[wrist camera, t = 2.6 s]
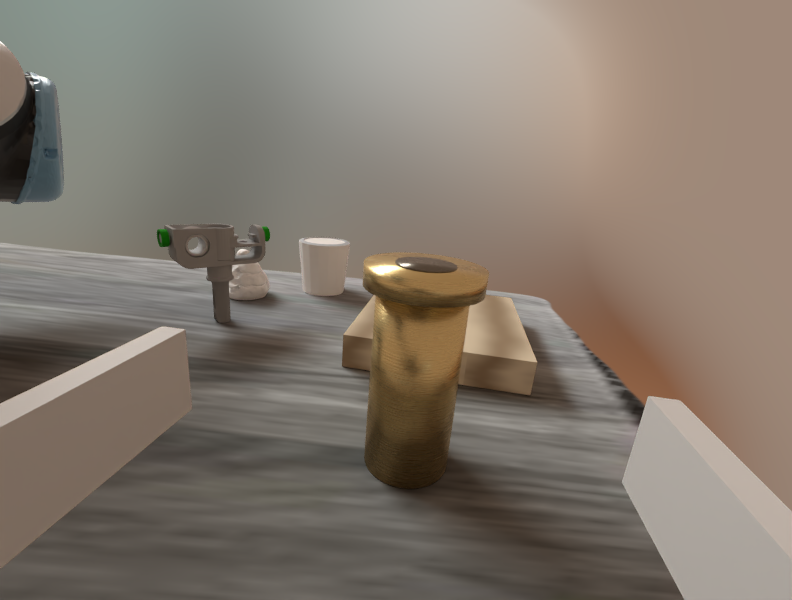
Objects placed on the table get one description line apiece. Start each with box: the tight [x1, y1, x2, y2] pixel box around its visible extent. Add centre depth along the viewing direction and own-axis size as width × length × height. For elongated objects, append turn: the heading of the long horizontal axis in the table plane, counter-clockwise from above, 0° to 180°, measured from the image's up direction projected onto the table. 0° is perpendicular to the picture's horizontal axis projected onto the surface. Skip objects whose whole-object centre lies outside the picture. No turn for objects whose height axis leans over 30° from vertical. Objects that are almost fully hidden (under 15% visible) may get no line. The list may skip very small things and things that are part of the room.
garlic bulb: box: [229, 249, 270, 300], centre depth 50 cm, size 6×6×5 cm
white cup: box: [299, 237, 350, 296], centre depth 54 cm, size 7×7×7 cm
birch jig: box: [342, 295, 537, 395], centre depth 41 cm, size 16×18×3 cm
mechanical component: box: [157, 224, 270, 323], centre depth 40 cm, size 3×10×10 cm, turn 133°
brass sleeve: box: [363, 253, 489, 489], centre depth 22 cm, size 6×6×12 cm
